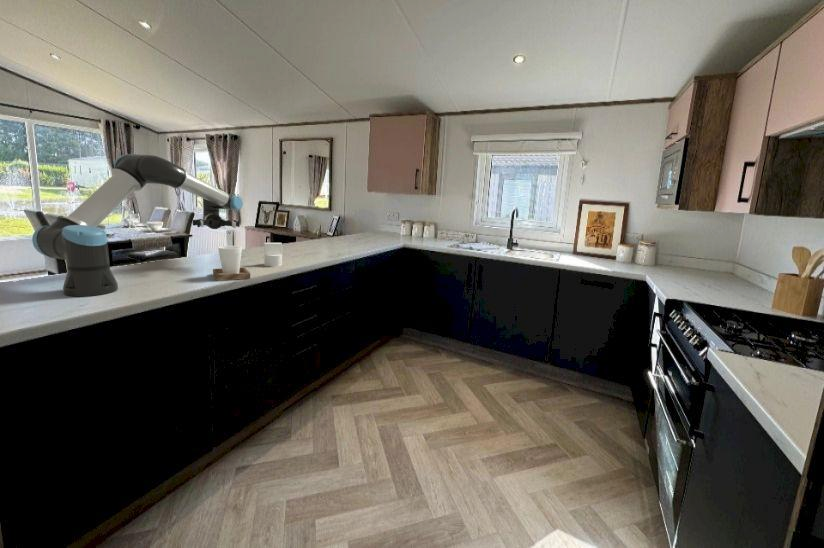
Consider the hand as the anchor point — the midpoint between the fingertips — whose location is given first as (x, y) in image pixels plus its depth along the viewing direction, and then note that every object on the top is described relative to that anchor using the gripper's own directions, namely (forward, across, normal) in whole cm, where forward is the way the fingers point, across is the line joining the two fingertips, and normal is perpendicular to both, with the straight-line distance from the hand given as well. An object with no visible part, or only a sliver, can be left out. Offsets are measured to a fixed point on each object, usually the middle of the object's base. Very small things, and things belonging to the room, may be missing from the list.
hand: (219, 224), depth 173 cm
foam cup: (+11, -3, -22) cm, 25 cm away
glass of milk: (-11, -27, -22) cm, 37 cm away
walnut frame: (+11, -3, -23) cm, 25 cm away
